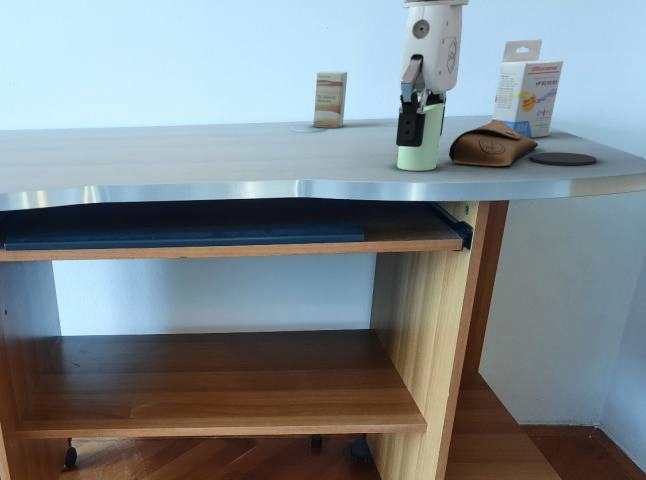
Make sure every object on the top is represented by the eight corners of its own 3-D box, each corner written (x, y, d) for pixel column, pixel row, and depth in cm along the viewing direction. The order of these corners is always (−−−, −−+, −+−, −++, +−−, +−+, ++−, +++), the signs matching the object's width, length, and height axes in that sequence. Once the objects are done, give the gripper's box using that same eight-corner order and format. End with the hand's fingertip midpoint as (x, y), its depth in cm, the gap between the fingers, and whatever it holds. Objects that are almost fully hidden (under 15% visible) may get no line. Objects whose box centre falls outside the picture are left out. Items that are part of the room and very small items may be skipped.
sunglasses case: (514, 164, 84) (493, 117, 83) (462, 187, 89) (442, 143, 88) (540, 144, 97) (523, 103, 96) (494, 165, 102) (477, 127, 101)
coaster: (598, 157, 89) (599, 154, 89) (592, 167, 83) (593, 164, 83) (535, 153, 93) (535, 150, 93) (525, 163, 87) (525, 160, 87)
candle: (396, 170, 86) (403, 105, 82) (397, 164, 90) (404, 102, 86) (436, 171, 84) (444, 105, 81) (435, 164, 89) (443, 101, 85)
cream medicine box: (312, 127, 127) (315, 72, 122) (318, 124, 130) (321, 71, 126) (338, 128, 125) (342, 72, 120) (344, 125, 128) (347, 70, 124)
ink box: (512, 141, 104) (530, 40, 98) (487, 137, 108) (503, 41, 102) (549, 136, 107) (569, 38, 101) (524, 132, 111) (541, 39, 105)
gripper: (449, -11, 70) (428, 153, 77) (485, -7, 82) (464, 134, 90) (382, -7, 74) (368, 149, 81) (426, -4, 86) (411, 131, 94)
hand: (419, 140), depth 86 cm, fingers open, 8 cm apart
